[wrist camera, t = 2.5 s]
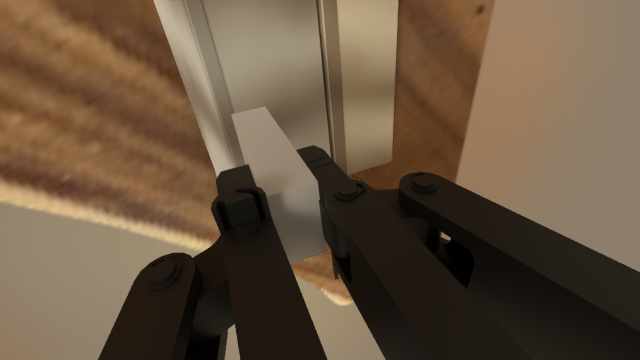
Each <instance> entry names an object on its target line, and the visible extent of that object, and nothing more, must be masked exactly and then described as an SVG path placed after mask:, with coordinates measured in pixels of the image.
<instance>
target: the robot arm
mask: <svg viewBox="0 0 640 360" xmlns="http://www.w3.org/2000/svg"><path fill="white" fill-rule="evenodd" d="M231 116H232V119H233V123H234V126H235V130H236V133H237V137H238V140H239V143H240V147H241V150H242V154H243V157H244V161H245V164H246V165H243V166H239V167H235V168H232V169H228V170H224V171H221V172H220V174H219V176H218V177H217V179H216V185H217V190H218V196H217V197H216V199H215V200H214V201H213V202H212V206H211V211H212V213H213V216H214V218H215V221H216V223H217V226H218V228H219V231H220V233H221V236H220V237H219V238H218V240H217V241H216V242H215V243H214V244H213V245H212V246H211V247H209V248H208V249H206V250H205V251H203V252H202V253H200V254H198V255H197V256H195V257H193V258H192V257H191V256H190V255H188V254H185V253H171V254H168V255H164V256H161V257H160V258H158V259H156V260H154V261H152V262H151V263H149V264H148V265H147V266H146V267H145V268H144V269H143V270H142V271H141V272H140V273H139V275H138V276H137V278H136V279H135V281H134V283H133V285H132V287H131V289H130V291H129V294H128V296H127V298H126V300H125V302H124V304H123V307H122V309H121V311H120V313H119V315H118V317H117V319H116V322H115V324H114V326H113V328H112V330H111V333H110V335H109V337H108V339H107V341H106V343H105V346H104V348H103V350H102V352H101V354H100V356H99V359H98V360H224V358H225V350H226V343H227V342H226V341H227V335H228V328H230V327H231V326H232V325H234V324H235V328H236V334H237V340H238V347H239V353H240V360H327V357H326V355H325V352H324V350H323V347H322V344H321V342H320V340H319V337H318V334H317V332H316V329H315V327H314V324H313V321H312V319H311V316H310V314H309V311H308V309H307V306H306V304H305V301H304V299H303V296H302V293H301V291H300V288H299V286H298V283H297V281H296V278H295V276H294V273H293V270H292V268H291V265H290V264H293V263H296V262H298V261H301V260H304V259H306V258H309V257H312V256H315V255H317V254H320V253H323V252H325V251H327V249H326V242H327V244H328V245H329V247H330V249H331V254H332V263H333V271H334V276H335V280H336V279H338V278H339V277H338V273H339V275H340V276H341V278H342V280H343V282H344V284H345V286H346V288H347V289H348V291H349V293H350V295H351V297H352V299H353V300H354V302H355V304H356V306H357V308H358V310H359V311H360V313H361V315H362V317H363V319H364V321H365V322H366V324H367V326H368V328H369V330H370V332H371V333H372V335H373V337H374V339H375V341H376V343H377V344H378V346H379V348H380V350H381V352H382V354H383V356H384V357H385V359H386V360H640V272H638V271H636V270H634V269H632V268H630V267H628V266H626V265H624V264H622V263H619V262H617V261H615V260H613V259H611V258H609V257H607V256H605V255H603V254H601V253H598V252H597V251H594V250H592V249H590V248H588V247H586V246H584V245H582V244H580V243H578V242H575V241H574V240H571V239H569V238H567V237H565V236H563V235H561V234H559V233H557V232H555V231H553V230H551V229H548V228H546V227H544V226H542V225H540V224H538V223H536V222H534V221H532V220H530V219H528V218H526V217H524V216H521V215H519V214H517V213H515V212H513V211H511V210H509V209H507V208H505V207H503V206H500V205H499V204H496V203H494V202H492V201H490V200H488V199H486V198H484V197H482V196H480V195H478V194H476V193H474V192H471V191H469V190H467V189H465V188H463V187H461V186H459V185H457V184H455V183H453V182H451V181H449V180H446V179H444V178H442V177H440V176H438V175H435V174H432V173H425V172H417V173H411V174H408V175H405V176H404V177H403V178H402V179H401V180H400V183H399V189H392V190H379V191H374V190H372V189H371V188H370V187H369V186H368V185H367V184H365V183H364V182H361V181H358V180H350V179H349V177H348V176H347V175H346V174H345V173H344V172H343V171H342V170H341V168H340V167H339V166H338V165H337V164H336V163H334V160H333V159H332V158H331V157H329V155H328V154H327V153H326V151H325V150H324V149H322V148H319V147H317V146H315V145H312V146H308V147H305V148H301V149H297V150H295V148H294V147H293V146H292V144H291V143H290V141H289V140H288V138H287V137H286V136H285V134H284V133H283V131H282V130H281V129H280V127H279V126H278V124H277V123H276V121H275V120H274V119H273V117H272V116H271V114H270V113H269V111H268V110H267V109H266V107H261V108H256V109H252V110H248V111H243V112H239V113H235V114H231ZM442 232H443V233H444V234H446V235H448V236H449V237H451V240H446V239H444V238H442V237H441V233H442ZM325 240H326V242H325Z"/></svg>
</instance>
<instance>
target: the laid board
mask: <svg viewBox="0 0 640 360" xmlns="http://www.w3.org/2000/svg"><path fill="white" fill-rule="evenodd" d="M316 6H317V17H318V27H319V38H320V48H321V59H322V70H323V80H324V91H325V101H326V112H327V122H328V133H329V144H330V154H331V158H332V159H333V160H334V163H336V164H337V165H338V166H339V167H340V168H341V170H342V171H343V172H344V173H345V174H346V175H350V174H354V173H357V172H360V171H363V170H366V169H370V168H373V167H376V166H379V165H383V164H386V163H389V162H392V144H393V119H394V95H395V70H396V46H397V21H398V0H316Z"/></svg>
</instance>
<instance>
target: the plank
mask: <svg viewBox="0 0 640 360" xmlns="http://www.w3.org/2000/svg"><path fill="white" fill-rule="evenodd" d="M154 3H155V6H156V8H157V11H158V14H159V17H160V20H161V22H162V25H163V28H164V31H165V33H166V36H167V39H168V42H169V44H170V47H171V50H172V53H173V56H174V58H175V61H176V64H177V67H178V69H179V72H180V75H181V78H182V80H183V83H184V86H185V89H186V92H187V94H188V97H189V100H190V103H191V105H192V108H193V111H194V114H195V116H196V119H197V122H198V125H199V128H200V130H201V133H202V136H203V139H204V141H205V144H206V147H207V150H208V152H209V155H210V158H211V161H212V164H213V166H214V169H215V172H216V175H217V177H218V176H219V174H220V172H221V171H224V170H228V169H232V168H235V167H239V166H243V165H246V164H245V161H244V157H243V154H242V150H241V147H240V143H239V140H238V137H237V133H236V130H235V126H234V123H233V119H232V116H231V114H235V113H239V112H243V111H248V110H252V109H256V108H261V107H266V109H267V110H268V111H269V113H270V114H271V116H272V117H273V119H274V120H275V121H276V123H277V124H278V126H279V127H280V129H281V130H282V131H283V133H284V134H285V136H286V137H287V138H288V140H289V141H290V143H291V144H292V146H293V147H294V148H295V150H297V149H301V148H305V147H308V146H312V145H315V146H317V147H319V148H322V149H324V150H325V151H326V153H327V154H328V155H329V157H331V154H330V144H329V133H328V122H327V112H326V101H325V91H324V80H323V70H322V59H321V48H320V38H319V27H318V17H317V6H316V0H154Z"/></svg>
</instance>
